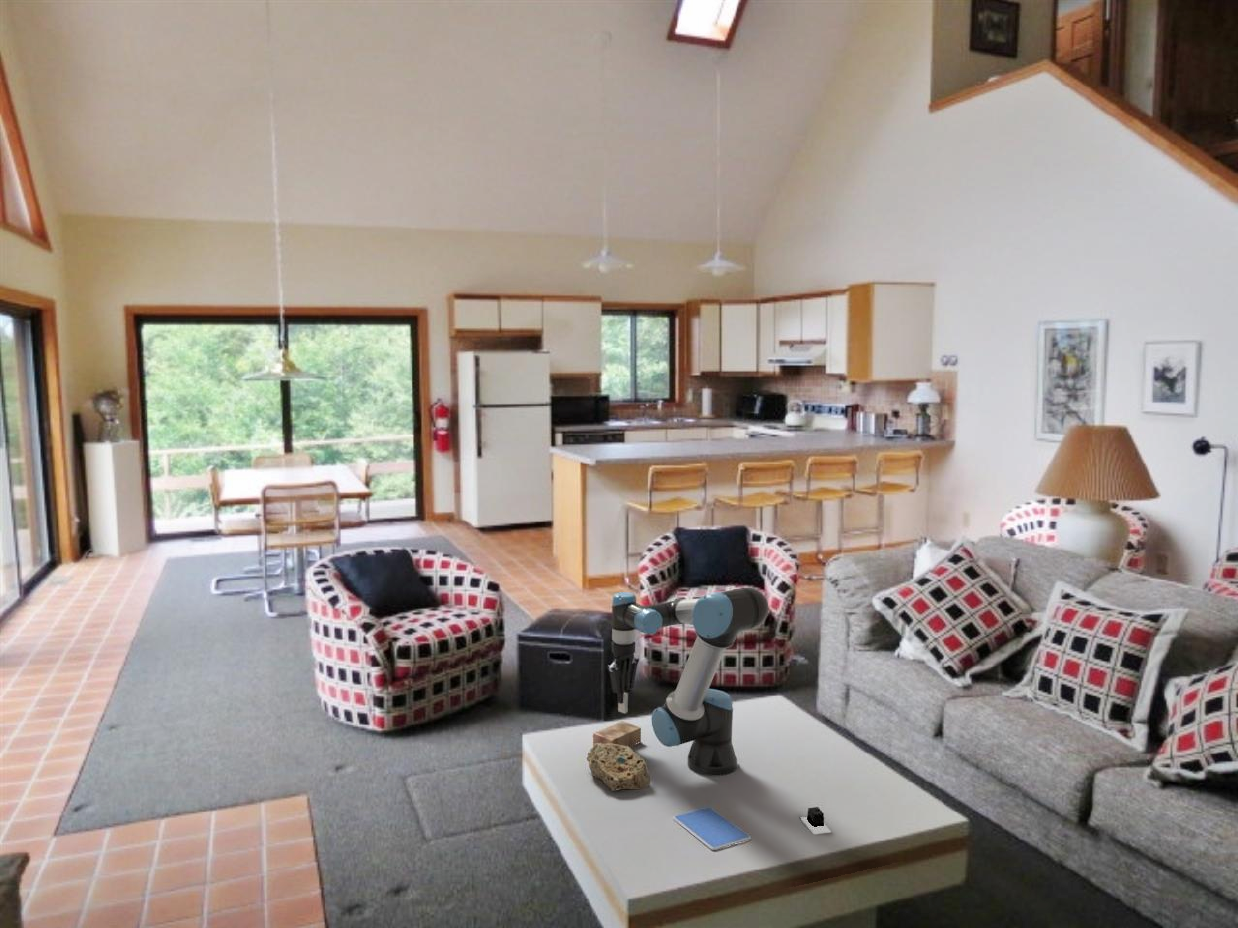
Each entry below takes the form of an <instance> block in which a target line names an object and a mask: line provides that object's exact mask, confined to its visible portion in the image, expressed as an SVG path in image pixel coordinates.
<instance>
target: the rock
mask: <svg viewBox="0 0 1238 928" xmlns="http://www.w3.org/2000/svg"><path fill="white" fill-rule="evenodd" d="M586 760H587V761H588V767H589V770H590V774H591V775H592V776H593V777H595V778H597V779H599V780H601V781H602V782H603V783H604V784H605V785H607V786H608V787H609V788H610V789H611V790H612V792H615V791H617V790H622V789H623V790H625V789H626V790H627V789H631V790H636V789H638V790H642V789H645V788H646V787H648V786H649V785H650V784H651V777H650V773H649V771H648V768H647V763H646V761H645V759H644V758H643V757H642V756H641V755H639V754H638V753H636V752H634V750H633V748H632V747H628V746H623V745H618V744H612V743H595V744H594V746H593V745H592V748H590V749H589V752H588V753H587V756H586Z"/></svg>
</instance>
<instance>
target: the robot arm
mask: <svg viewBox="0 0 1238 928" xmlns="http://www.w3.org/2000/svg"><path fill="white" fill-rule="evenodd" d="M769 609H770V607H769V602H768V600H767V597H766V596H765V595H764V594H763V592H761V591H760V590H759V589H756V588H753V587H741V588H737V589H731V590H726V591H720V592H718V591H716V592H710V593H708V594H706V595H705V594H704V595H702V596H701V597H699V598H689V599H685V598H684V599H683V598H682V599H681V598H680V599H679V598H678V599H675V600H671V601H667V602H660V603H655V604H650V605H649V604H648V605H642V604H639V603H637V596H636V595H635V593H633V592H628V591H623V592H622V591H621V592H616V593H615V594H613V596H612V605H611V622H612V623H611V625H612V627H611V628H612V629H611V631H612V634H611V640H612V641H611V652H612V655H613V658H612V663H611V664H610V665H609V664H608V665H607V667H606V668H607V670H608V672H609V677H610V683H611V689H612V692H613V693H616V694H617V706H618V707H617V710H618V712H619V713H622V714H624V715H625V714H627V713H628V705H629V704H628V702H629V699H630V698H629V695H630V694H629V693H632V690H633V689H634V686H635V679H636V675H637V674H636V673H637V667H638V664H639V662H640V658H638V657H635V653H636V634H637V632H636V631H639V632H640V633H643V634H647V635H654V634H656V633H658V631H660V629H661V628H666V627H672V626H677V625H690V624H692V625H693V628H694V632H695V634H696V638H695V641H694V643H693V646H692V649H691V651H690V654H689V656H688V659H687V660H686V663H685V666H684V668H683V671H682V673H681V676H680V678H679V681H678V683H677V686H676V689H675V690H674V691H672V692H670V693H669V694H668V695H667V697H666V700H665V702H664V704H663V706H658V707H657V708H655V709H654V710H653V711H652V712H651V717H650V718H651V720H650V721H651V727H652V729H653V733H654V735H655V737H656V739H657V740H658V741H659V742H660V743H661V744H662V745H663V746H665V747H668V748H672V747H678V746H680V745H683V744H687V743H689V742H692V743H691V746H690V749H689V751H688V755H687V767H688V768H689V769H690V770H691V771H693V772H694V773H697V774H700V775H705V776H713V777H714V776H715V777H716V776H726V775H729V774H731V773H733V772H734V771H736V770H737V767H738V759H737V756H736V753H735V748H734V744H733V741H732V740H733V739H732V737H733V719H734V717H733V716H734V707H733V705H734V703H733V697H732V696H731V695H730V694H728V693H726V692H725V691H723V690H718V689H715V688H714V689H713V688H710V687H711V685H712V682H713V679H714V677H715V675H716V672H717V670H718V668H719V665H720V663H721V661H722V658H723V656H724V654H725V652H726V650H727V649H728V648H731V647H733V645H734V644H735V641H736V639H737V637H738V634H739V633H741V632H745V631H748V630H752V629H755V628H757V627H758V628H759V626H761V625H762V624H763V623H764V622H765V621H766V619H767V617H768V615H769V611H770V610H769ZM631 689H632V690H631Z"/></svg>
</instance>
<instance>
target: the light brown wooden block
mask: <svg viewBox="0 0 1238 928" xmlns="http://www.w3.org/2000/svg"><path fill="white" fill-rule="evenodd" d="M641 736H642V727H640V726H637V725H635V724H631V723H629V722H626V721H623V720H622V721H619V722H617V723H615V724H611V725H610V726H607V727H605V728H602V729H600V730H598V731H596V732H593V734H592V747H593V746H594V744H595V743H612V744H618V745H623V746H628V747H630V746H631V747H633V746H636V745H637V744H636V743H638V742H640V743H641V741H642V740H641V739H642V738H641ZM635 744H636V745H635ZM638 744H639V743H638ZM632 745H633V746H632ZM631 747H630V748H631Z"/></svg>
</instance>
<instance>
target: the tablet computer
mask: <svg viewBox="0 0 1238 928" xmlns="http://www.w3.org/2000/svg"><path fill="white" fill-rule="evenodd" d="M672 820H673V821H674V822H676V824H678V825H680V826H681V827H682V828H684V829H685V831H687V832H689V833H690V834H691V835H692V836H694V837H695V838H696V839H697V840H699V841H700V842H701V843H703V845H705V846H706V847H707V848H708V849H710V851H713V850H717V849H720V848H723V847H726V846H729V845H733V844H735V843H739V842H743V841H746V842H748V841H747V840H749V839H750V840H751V836H750V835H749V834H748V833H746V832H745V831H743V830H742V829H740V828H739V827H738V826H737V825H735V824H734V823H733V822H731V821H729V819H727V818H726V817H725V816H723V815H722V814H721V813H719V812H718V811H716V810H715V809H714V808H712V807H703V808H700V809H696V810H691V811H689V812H688V811H687V812H685V813H681V814H677V815H674V816H673V817H672ZM750 840H749V841H750ZM743 843H744V842H743ZM733 846H734V845H733ZM723 849H724V848H723ZM720 850H721V849H720ZM717 851H718V850H717Z"/></svg>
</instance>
